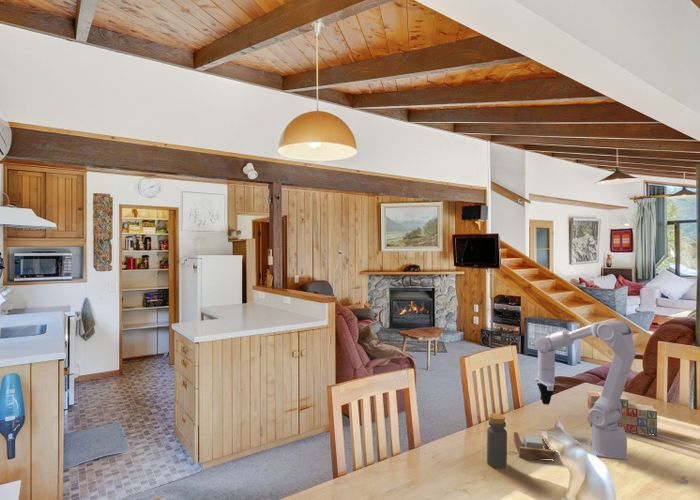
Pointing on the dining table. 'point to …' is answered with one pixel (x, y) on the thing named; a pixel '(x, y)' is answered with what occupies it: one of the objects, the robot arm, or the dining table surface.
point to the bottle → (497, 441)
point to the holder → (533, 450)
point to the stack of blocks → (631, 415)
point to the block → (533, 442)
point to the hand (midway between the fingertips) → (545, 403)
